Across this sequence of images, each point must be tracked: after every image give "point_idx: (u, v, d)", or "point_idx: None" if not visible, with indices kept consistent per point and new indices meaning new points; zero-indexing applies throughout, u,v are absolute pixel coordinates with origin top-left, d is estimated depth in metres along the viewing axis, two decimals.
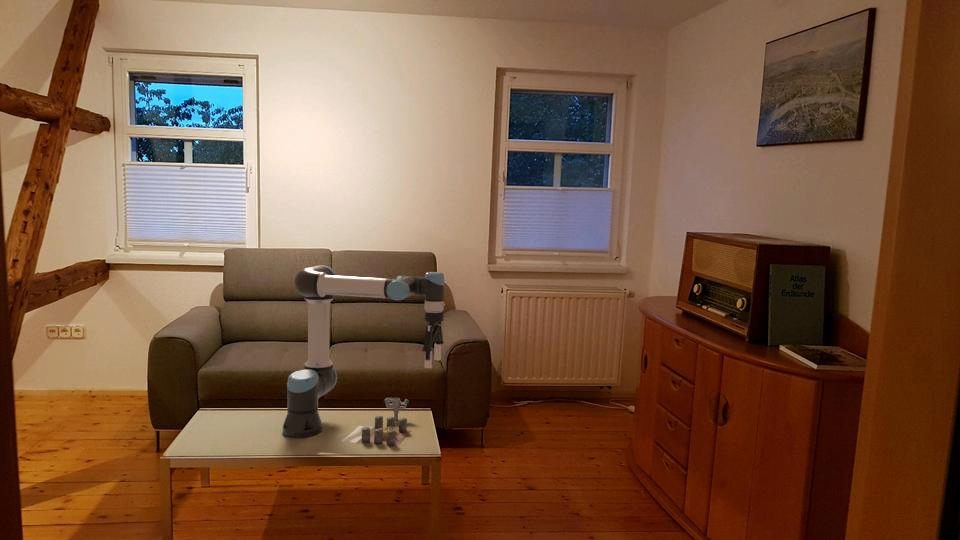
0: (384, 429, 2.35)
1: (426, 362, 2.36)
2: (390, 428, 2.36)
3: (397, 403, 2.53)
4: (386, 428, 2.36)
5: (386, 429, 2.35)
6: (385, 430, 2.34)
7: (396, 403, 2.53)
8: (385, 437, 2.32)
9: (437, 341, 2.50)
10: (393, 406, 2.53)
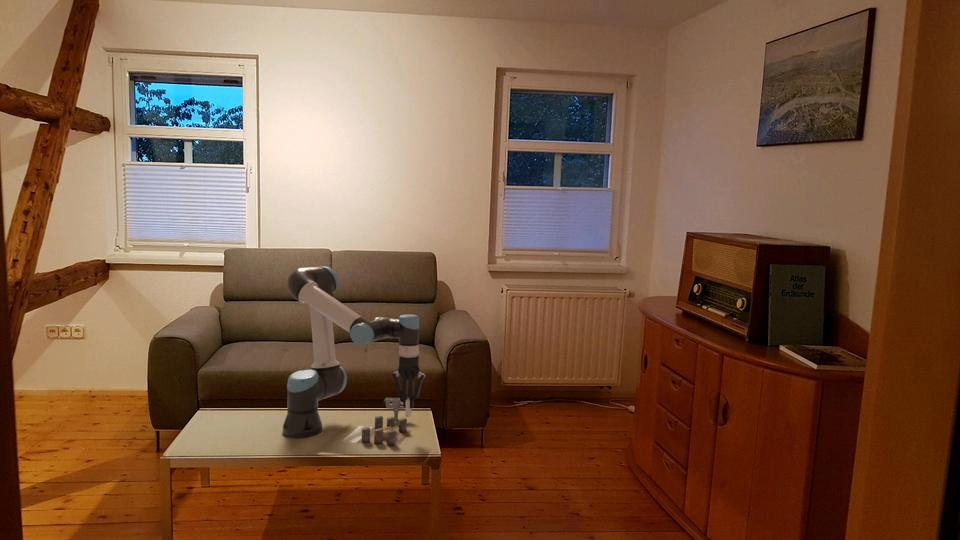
0: (384, 429, 2.35)
1: None
2: (390, 428, 2.36)
3: (397, 403, 2.53)
4: (386, 428, 2.36)
5: (386, 429, 2.35)
6: (385, 430, 2.34)
7: (396, 403, 2.53)
8: (385, 437, 2.32)
9: None
10: (393, 406, 2.53)
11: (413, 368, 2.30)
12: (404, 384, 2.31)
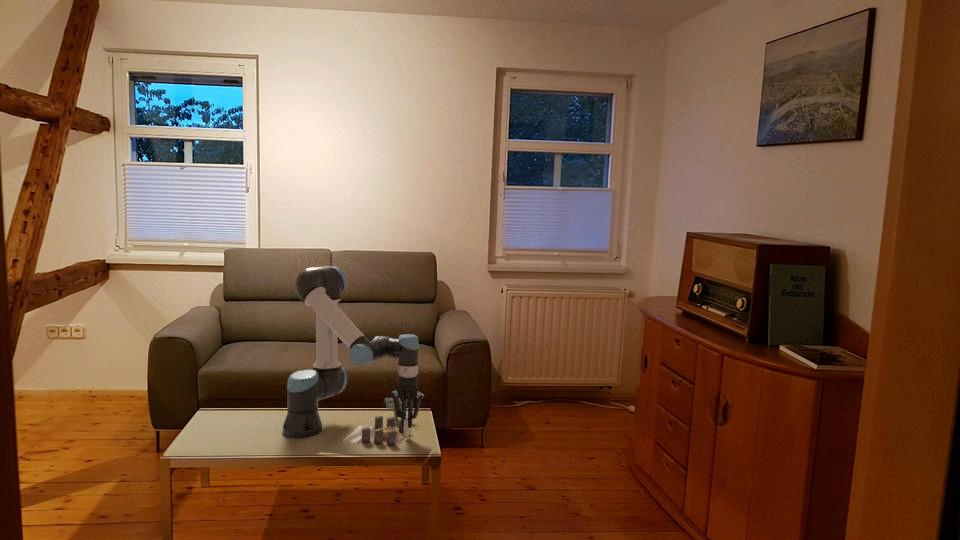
0: (384, 429, 2.35)
1: None
2: (390, 428, 2.36)
3: None
4: (386, 428, 2.36)
5: (386, 429, 2.35)
6: (385, 430, 2.34)
7: None
8: (385, 437, 2.32)
9: None
10: (393, 406, 2.53)
11: (412, 388, 2.31)
12: (403, 404, 2.32)
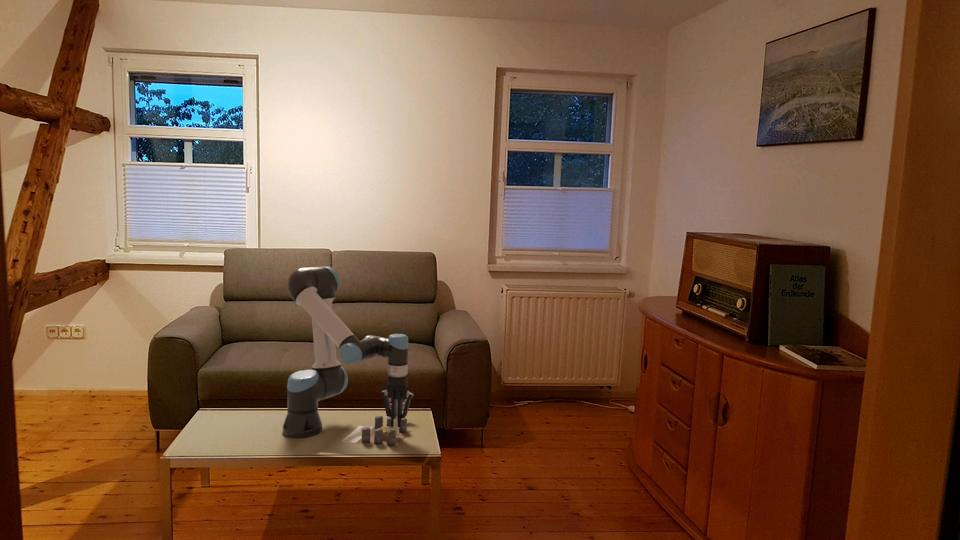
0: (383, 429, 2.35)
1: None
2: (389, 428, 2.36)
3: (397, 403, 2.53)
4: (385, 428, 2.36)
5: (385, 429, 2.35)
6: (384, 430, 2.34)
7: (396, 403, 2.53)
8: (384, 437, 2.33)
9: None
10: None
11: (401, 387, 2.32)
12: (392, 403, 2.33)
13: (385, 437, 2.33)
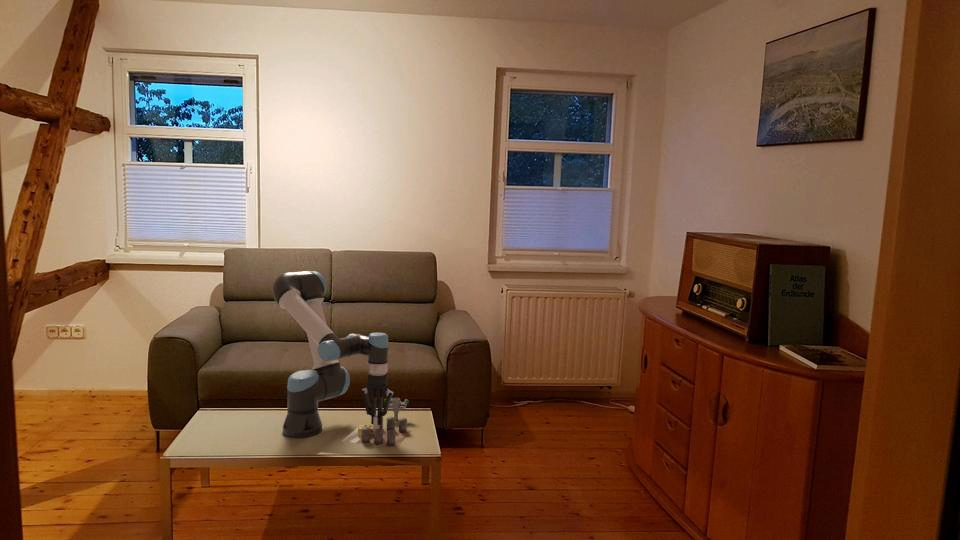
0: (363, 427, 2.37)
1: None
2: (369, 426, 2.38)
3: (397, 403, 2.53)
4: (365, 426, 2.38)
5: None
6: None
7: (396, 403, 2.53)
8: None
9: None
10: (393, 406, 2.53)
11: (381, 386, 2.33)
12: (372, 401, 2.34)
13: None
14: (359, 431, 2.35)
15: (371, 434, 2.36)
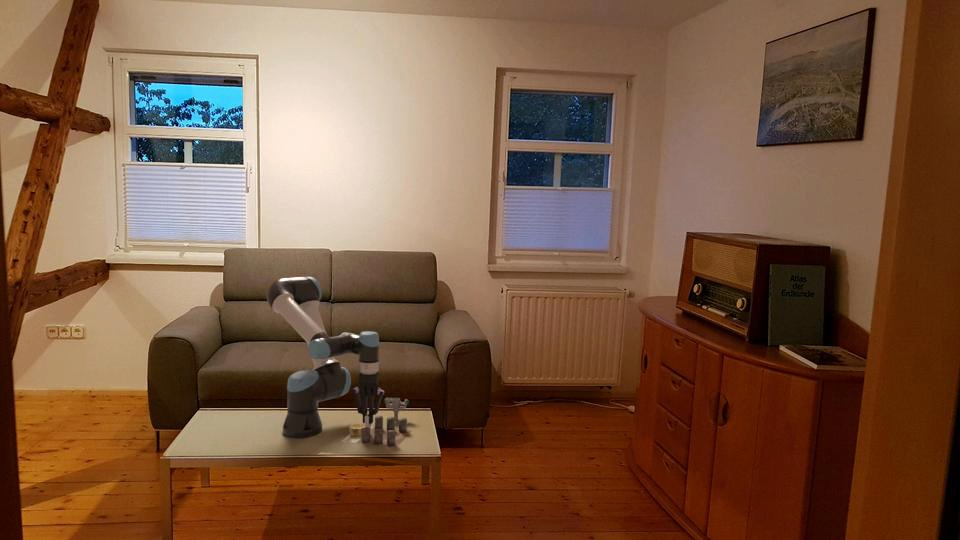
0: (354, 426, 2.37)
1: None
2: (361, 425, 2.38)
3: (397, 403, 2.53)
4: (357, 425, 2.38)
5: (356, 426, 2.37)
6: (355, 427, 2.36)
7: (396, 403, 2.53)
8: (355, 434, 2.35)
9: None
10: (393, 406, 2.53)
11: (372, 385, 2.34)
12: (363, 400, 2.35)
13: (356, 434, 2.35)
14: (350, 430, 2.36)
15: None
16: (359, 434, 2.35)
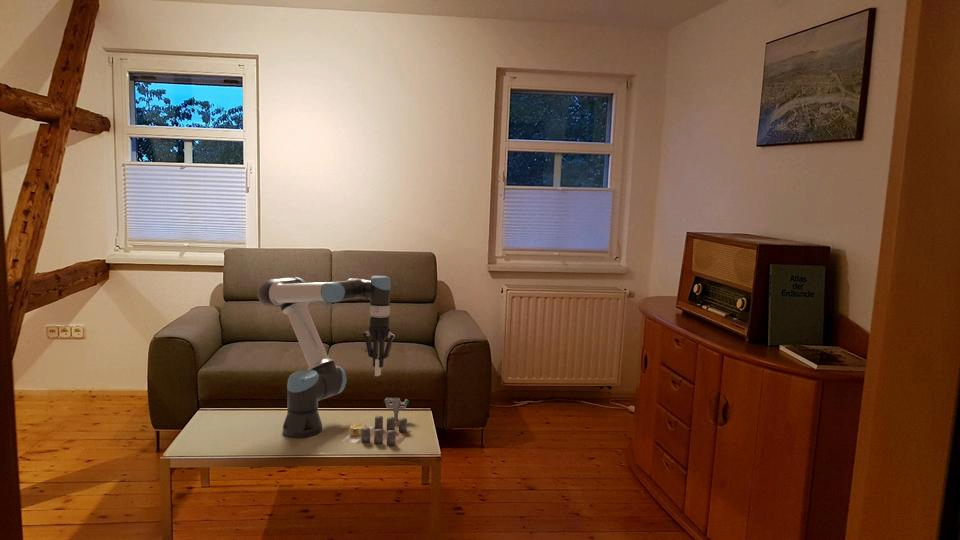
0: (354, 426, 2.37)
1: None
2: (361, 425, 2.38)
3: (397, 403, 2.53)
4: (357, 425, 2.38)
5: (356, 426, 2.37)
6: (355, 427, 2.36)
7: (396, 403, 2.53)
8: (355, 434, 2.35)
9: None
10: (393, 406, 2.53)
11: (383, 328, 2.35)
12: (374, 344, 2.36)
13: (356, 434, 2.35)
14: (350, 430, 2.36)
15: None
16: (359, 434, 2.35)
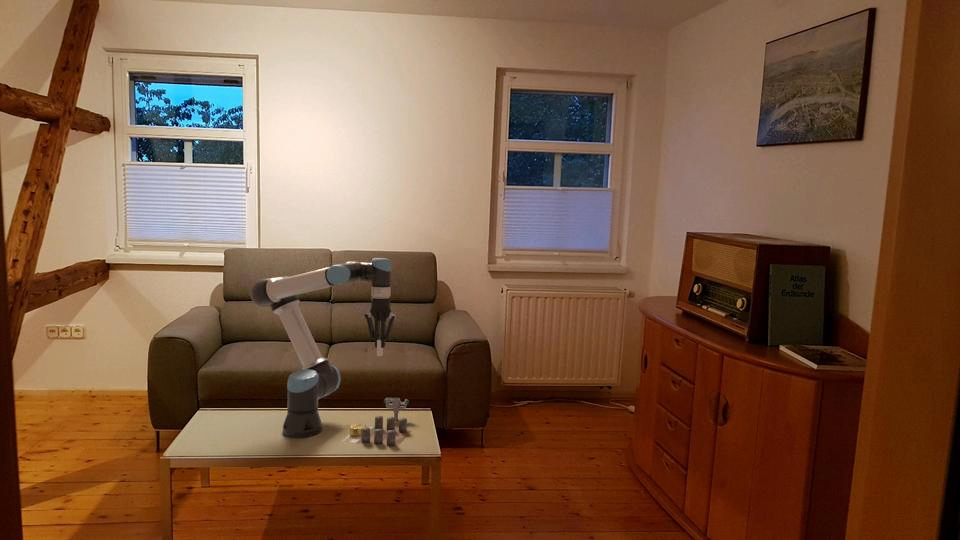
0: (354, 426, 2.37)
1: None
2: (361, 425, 2.38)
3: (397, 403, 2.53)
4: (357, 425, 2.38)
5: (356, 426, 2.37)
6: (355, 427, 2.36)
7: (396, 403, 2.53)
8: (355, 434, 2.35)
9: None
10: (393, 406, 2.53)
11: (384, 309, 2.40)
12: (376, 324, 2.41)
13: (356, 434, 2.35)
14: (350, 430, 2.36)
15: None
16: (359, 434, 2.35)
